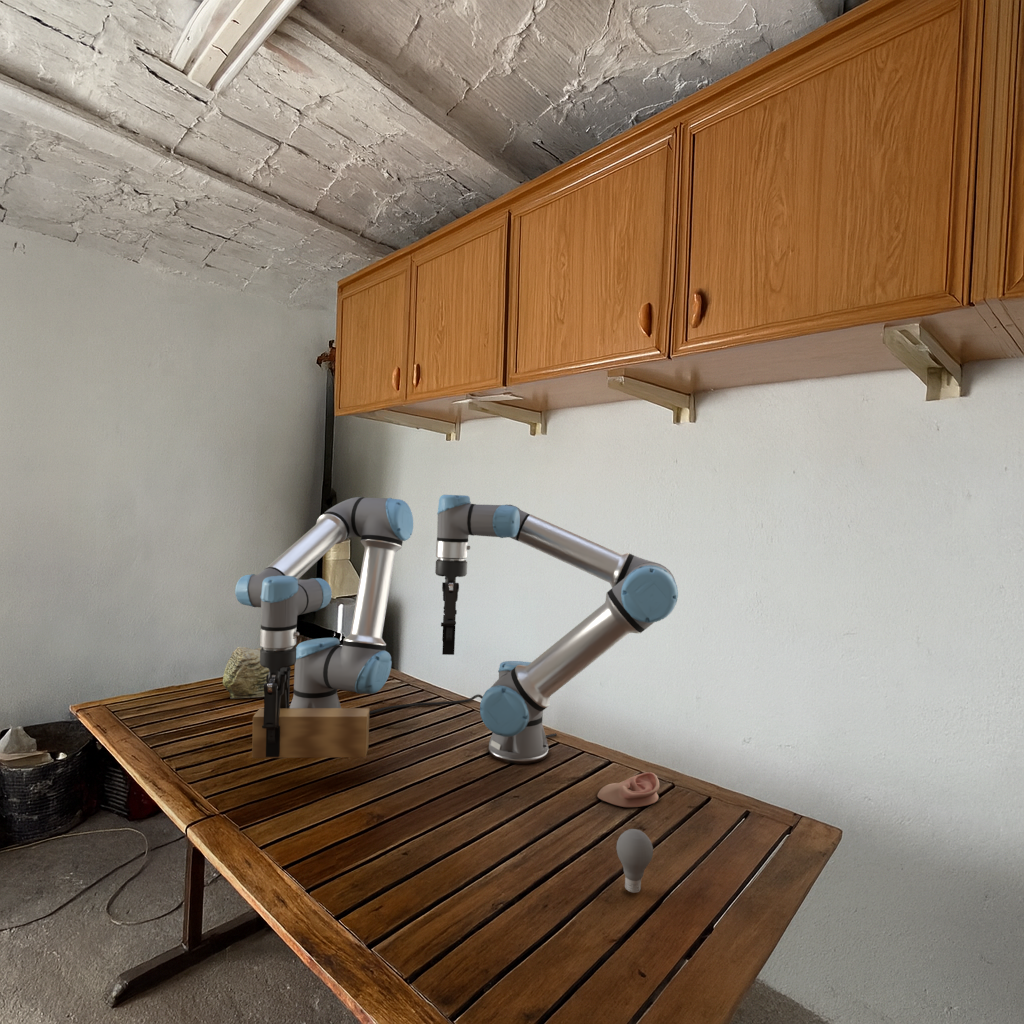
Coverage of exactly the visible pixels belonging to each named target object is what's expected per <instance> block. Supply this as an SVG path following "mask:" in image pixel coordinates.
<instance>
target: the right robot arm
mask: <svg viewBox="0 0 1024 1024" xmlns="http://www.w3.org/2000/svg"><path fill="white" fill-rule="evenodd" d="M436 515H437V521H436V522H437V524H436V525H437V526H436V529H437V530H436V543H435V544H436V545H435V557H436V558H437V559H436V560H435V572H434V573H435V575H436V576H438V577H444V580H445V581H444V582H442V585H441V588H442V589H441V590H442V601H443V615H442V616H443V617H442V622H440V627H442V638H441V641H442V651H441V652H442V653H441V655H444V656H445V655H446V656H447V655H448V656H454V655H455V645H456V625H457V621H456V619H457V618H456V615H457V614H458V613H457V611H458V610H457V602H458V600H459V599H458V598H459V592H460V583H459V582H457V578H463V577H466V576H468V575H467V574H468V561H467V560H466V559H467V558H468V551H469V550H471V546H470V545H468V544H469V536H472V537H473V536H477V537H488V538H489V537H492V538H499V539H504V538H505V539H506V538H510V539H512V540H513V541H514V540H515V541H517V542H520V543H522V544H524V545H526V546H528V547H531V548H533V549H535V550H537V551H539V552H541V553H543V554H546V555H548V556H550V557H552V558H555V559H557V560H558V561H561V562H563V563H565V564H568V565H569V566H572V567H574V568H576V569H579V570H581V571H583V572H585V573H587V574H589V575H592V576H593V577H596V578H598V579H600V580H602V581H605V582H607V583H609V584H610V586H611V589H609V590H608V591H607V592H606V593H605V601H604V603H603V604H602V605H600V606H599V607H597V609H596V610H594V611H593V612H592V613H590V614H589V615H588V616H587V617H586V618H584V619H583V620H582V621H581V622H579V623H578V624H577V625H575V626H574V627H573V628H572V629H570V630H569V631H568V632H567V633H566V634H565V635H563V636H562V637H561V638H559V640H557V641H556V642H554V644H552V645H551V646H550V647H549V648H547V649H546V650H545V651H544V652H542V653H541V654H539V656H538V657H536V658H535V659H534V660H533V661H531V662H529V661H523V660H506V661H505V660H504V661H501V662H500V664H499V667H498V671H497V673H498V679H497V680H496V681H495V682H494V683H493V684H492V685H491V686H490V687H489V688H488V689H486V691H485V692H484V694H483V695H482V696H483V698H482V699H481V700H480V704H479V714H480V718H481V720H482V722H483V724H484V726H485V727H486V728H487V729H488V731H490V732H491V733H492V734H491V736H490V738H489V741H488V753H489V755H490V756H491V757H492V758H493V759H495V760H497V761H501V762H504V763H507V764H514V765H529V764H536V763H539V762H541V761H543V760H546V758H547V757H548V755H549V744H548V738H553V737H557V736H558V733H552V734H551V733H550V734H546V732H545V728H544V725H543V715H544V710H546V709H547V708H548V707H549V706H550V702H551V701H550V700H551V696H552V695H554V694H555V693H556V692H558V691H559V690H560V689H561V688H562V687H564V686H565V685H567V684H568V683H569V682H571V680H573V679H574V678H575V677H576V676H577V675H579V674H580V673H581V672H583V671H584V670H585V669H586V668H588V667H589V666H590V665H591V664H593V663H594V662H595V661H597V660H598V659H599V658H600V657H602V656H603V655H604V654H605V653H606V652H608V651H609V650H610V649H611V648H613V647H614V646H615V645H616V644H618V643H619V642H620V641H622V640H623V639H624V638H626V636H628V635H629V634H641V633H644V631H645V630H647V629H648V628H650V627H651V626H652V625H653V624H655V623H657V622H660V621H662V620H664V619H665V618H667V617H668V616H669V615H670V614H671V613H672V612H673V611H674V609H675V608H676V606H677V602H678V598H679V590H678V585H677V582H676V579H675V577H674V575H673V573H672V572H671V570H670V569H668V568H667V566H665V565H663V564H661V563H658V562H655V561H652V560H648V559H645V558H643V557H639V556H637V555H634V554H632V553H630V552H626V553H624V554H622V553H619V552H617V551H614V550H612V549H610V548H608V547H606V546H604V545H601V544H599V543H596V542H594V541H593V540H590V539H587V538H585V537H583V536H580V535H578V534H576V533H574V532H571V531H569V530H567V529H565V528H562V527H560V526H558V525H555V524H553V523H551V522H549V521H547V520H545V519H543V518H540V517H537V516H535V515H533V514H530V513H528V512H527V511H523V510H522V509H520V508H519V507H517V506H516V505H513V504H476V503H471V498H470V496H469V495H464V494H463V495H461V494H442V495H441V496H439V498H438V506H437V513H436Z"/></svg>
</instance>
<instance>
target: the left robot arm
mask: <svg viewBox="0 0 1024 1024" xmlns="http://www.w3.org/2000/svg"><path fill="white" fill-rule="evenodd" d="M413 531H414V516H413V512H412V509H411V507H410V506H409V504H408V503H407V502H406V501H405V500H403V499H397V498H392V497H364V496H355V497H351V498H347V499H345V500H343V501H341V502H338V503H337V504H335V505H333V506H331V507H330V508H328V509H327V510H326V511H324V513H322V514H321V515H320V516H318V518H317V520H316V523H315V525H314V526H312V527H311V528H310V529H309V530H308V531H307V532H306V533H304V534H303V535H302V536H301V537H300V538H298V539H297V540H296V541H295V542H294V543H292V545H290V546H289V547H288V548H287V549H286V550H284V551H283V552H282V553H281V554H280V555H279V556H277V557H276V558H275V559H274V560H273V561H272V562H271V563H269V565H267V566H266V567H264V569H263V570H261V571H260V572H259V573H258V574H255V573H251V574H245V575H243V576H241V577H240V578H239V579H238V581H237V582H236V585H235V590H234V592H235V593H234V594H235V598H236V600H237V601H238V603H239V604H241V605H243V606H248V607H252V608H260V612H261V613H260V631H259V632H260V633H259V635H260V637H259V646H260V648H261V650H260V665H261V666H262V667H265V668H268V669H269V675H267V677H266V682H267V683H264V697H263V708H264V725H263V726H262V728H264V729H266V757H279V755H280V726H279V715H280V708H342V706H341V702H340V699H339V695H338V691H345V692H351V693H357V694H358V695H360V694H361V695H362V694H366V695H373V694H376V693H378V692H379V691H380V690H382V689H383V687H384V686H385V685H386V683H387V682H388V679H389V677H390V674H391V670H392V663H393V662H392V661H393V660H392V656H391V654H390V652H388V651H387V650H386V648H387V643H386V642H385V641H384V639H383V632H384V626H385V620H386V619H385V618H386V614H387V608H388V601H389V595H390V589H391V584H392V583H391V582H392V576H393V570H394V563H395V558H396V553H397V552H399V551H400V550H402V548H403V543H404V542H406V541H408V540H410V538H411V536H412V535H413ZM350 538H360V543H361V545H362V546H363V548H364V553H363V558H362V563H361V570H360V575H359V580H358V587H357V592H356V598H355V603H354V609H353V610H354V611H353V614H352V621H351V626H350V631H349V632H350V633H349V634H348V635H347V636H346V637H345V638H343V641H342V645H340V644H341V641H340V639H339V638H337V637H321V638H313V639H307V640H304V641H302V642H299V643H298V644H297V637H299V636H300V632H299V631H297V630H298V629H297V627H298V616H301V615H305V614H309V613H311V612H317V611H319V610H321V609H323V608H325V607H327V606H328V605H330V602H331V600H332V596H333V594H332V593H333V592H332V588H331V586H330V583H329V582H328V581H327V580H325V579H323V578H321V577H316V578H313V577H310V578H308V579H300V578H301V577H302V576H303V575H304V574H306V573H307V571H309V570H310V569H311V568H312V567H313V566H314V565H315V564H316V563H317V562H318V561H319V560H320V559H321V558H322V557H323V556H325V555H326V554H327V553H328V552H329V551H330V550H331V549H332V548H333V547H334V546H335V545H339V544H342V543H344V541H346V540H347V539H350ZM292 666H294V672H293V695H292V696H293V697H292V699H291V702H290V697H291V696H290V695H291V694H290V690H291V689H290V688H291V687H290V684H291V671H292V669H291V667H292ZM477 698H480V699H481V700H482V698H483V695H482V694H475V695H473V696H471V697H469V698H466V699H459V700H447V701H433V702H432V701H430V702H415V703H413V702H412V703H405V704H397V705H390V706H385V707H380V708H375V709H374V710H369V715H372V714H373V715H374V714H376V713H379V712H382V711H387V710H394V709H401V708H410V707H420V706H422V707H423V706H438V705H454V704H462V703H468V702H471V701H474V700H475V699H477Z"/></svg>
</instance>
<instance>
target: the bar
mask: <svg viewBox="0 0 1024 1024" xmlns="http://www.w3.org/2000/svg"><path fill="white" fill-rule="evenodd" d="M369 711H371V710H370V708H369V707H346V708H345V707H341V708H280V715H279V726H280V755H279V757H266V729H264V728H262V726H263V725H264V707H263V708H261V707H260V708H259V709H258V710H257V711H256V712H255V714H254V715H253V716H252V745H251V746H252V748H251V758H252V759H295V758H296V759H307V758H308V759H311V758H312V759H314V758H321V759H323V758H366V757H367V755H368V751H369V745H370V744H369V742H370V741H369V740H370V714H369Z"/></svg>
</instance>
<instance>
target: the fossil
mask: <svg viewBox="0 0 1024 1024" xmlns="http://www.w3.org/2000/svg"><path fill="white" fill-rule="evenodd" d="M261 649H262V647H258V648H251V647H247V646H246V647H245V646H238V647H237V648H236V649H235V650H233V651H232V653H231V656H230V657H229V659H228V660H227V663H226V666H225V668H224V671H223V675H222V676H223V677H222V685H223V687H224V688H225V690H226V691H228V693H229V698H230V699H250V698H264V683H267V682H266V677H267V675H269V669H268V668H265V667H262V666H261V665H260V650H261Z"/></svg>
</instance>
